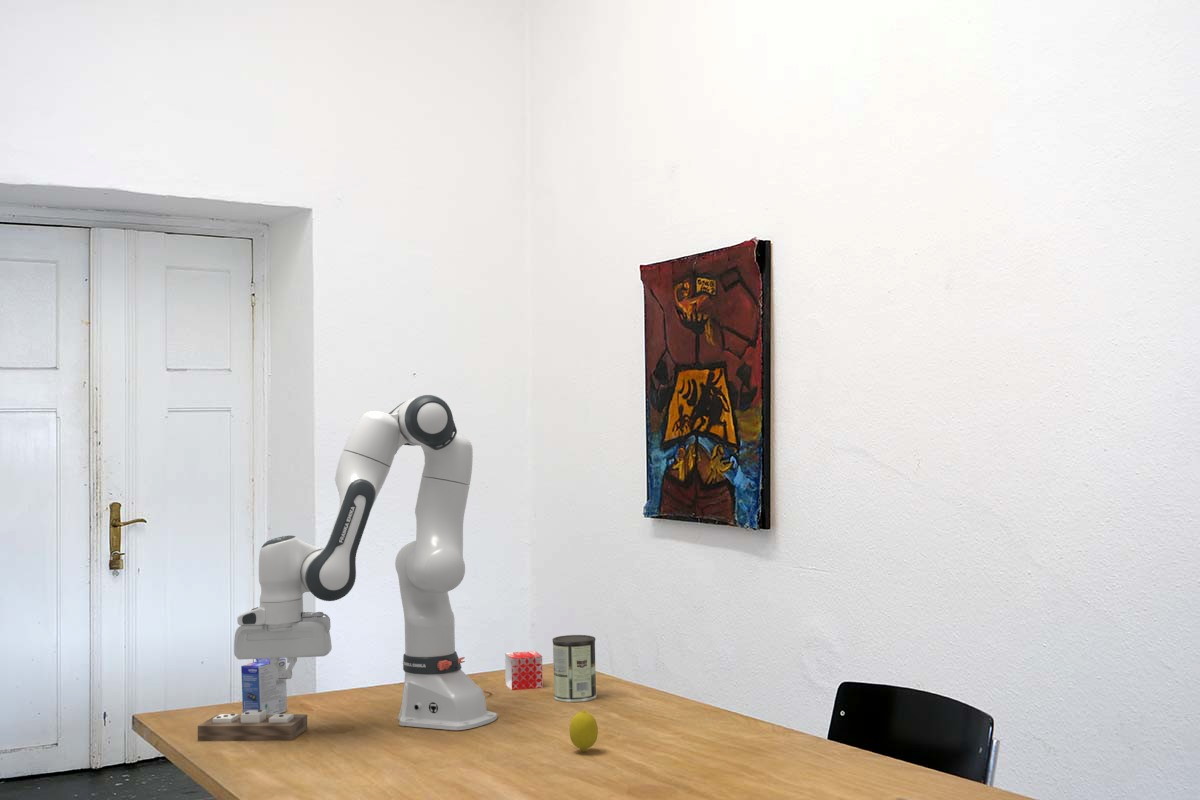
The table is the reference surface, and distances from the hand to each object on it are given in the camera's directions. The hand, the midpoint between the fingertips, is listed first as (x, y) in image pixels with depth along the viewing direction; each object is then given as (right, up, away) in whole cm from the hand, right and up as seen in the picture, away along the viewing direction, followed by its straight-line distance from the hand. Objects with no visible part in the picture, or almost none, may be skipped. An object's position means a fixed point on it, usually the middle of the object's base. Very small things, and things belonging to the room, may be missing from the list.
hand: (284, 678), depth 237 cm
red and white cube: (+48, -13, +44) cm, 66 cm away
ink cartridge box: (-9, -13, +17) cm, 23 cm away
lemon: (+64, -10, -19) cm, 67 cm away
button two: (-6, -10, 0) cm, 11 cm away
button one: (0, -10, -1) cm, 10 cm away
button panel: (-6, -12, 0) cm, 13 cm away
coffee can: (+61, -12, +29) cm, 69 cm away
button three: (-12, -10, 0) cm, 16 cm away
